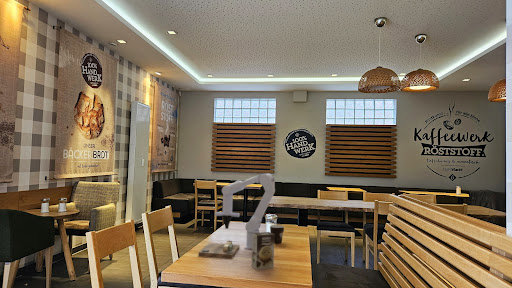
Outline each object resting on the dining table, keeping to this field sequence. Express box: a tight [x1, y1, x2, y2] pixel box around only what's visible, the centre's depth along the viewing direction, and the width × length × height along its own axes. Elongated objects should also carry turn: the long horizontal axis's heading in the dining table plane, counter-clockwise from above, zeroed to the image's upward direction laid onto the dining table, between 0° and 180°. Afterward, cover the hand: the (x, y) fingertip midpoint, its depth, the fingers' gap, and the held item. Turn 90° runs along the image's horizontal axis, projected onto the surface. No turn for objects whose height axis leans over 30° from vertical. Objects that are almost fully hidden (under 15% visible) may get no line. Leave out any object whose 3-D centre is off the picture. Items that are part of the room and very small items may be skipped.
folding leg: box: [223, 240, 233, 251], centre depth 191 cm, size 12×3×3 cm, turn 173°
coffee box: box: [251, 231, 275, 271], centre depth 167 cm, size 9×6×16 cm
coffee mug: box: [269, 224, 285, 245], centre depth 216 cm, size 12×9×10 cm
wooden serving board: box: [198, 242, 240, 259], centre depth 191 cm, size 18×20×4 cm
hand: (226, 228), depth 208 cm, fingers closed
